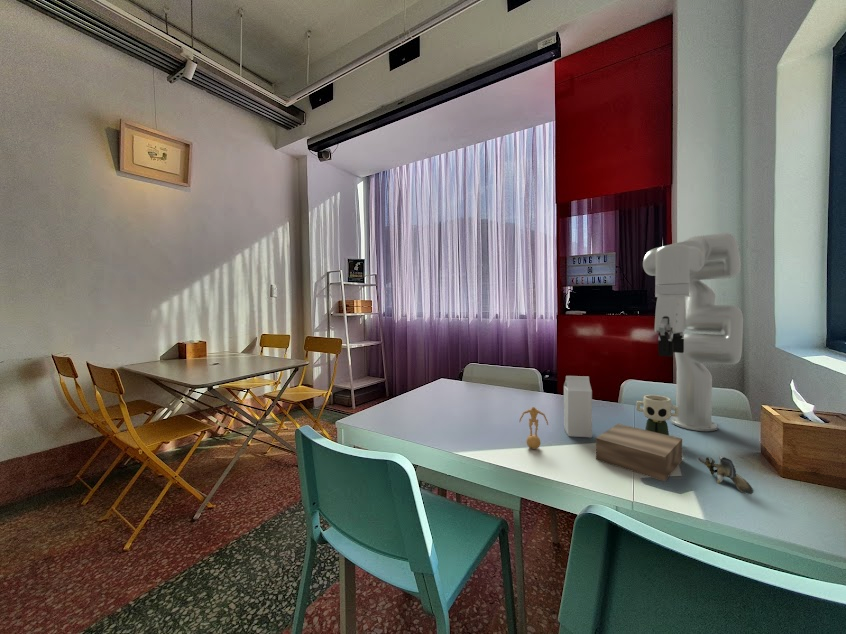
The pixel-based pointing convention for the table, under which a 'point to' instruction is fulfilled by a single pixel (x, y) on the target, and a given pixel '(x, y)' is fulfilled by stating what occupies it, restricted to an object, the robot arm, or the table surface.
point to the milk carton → (578, 406)
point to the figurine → (533, 439)
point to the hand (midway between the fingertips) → (671, 354)
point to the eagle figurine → (728, 473)
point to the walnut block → (640, 451)
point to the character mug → (657, 412)
